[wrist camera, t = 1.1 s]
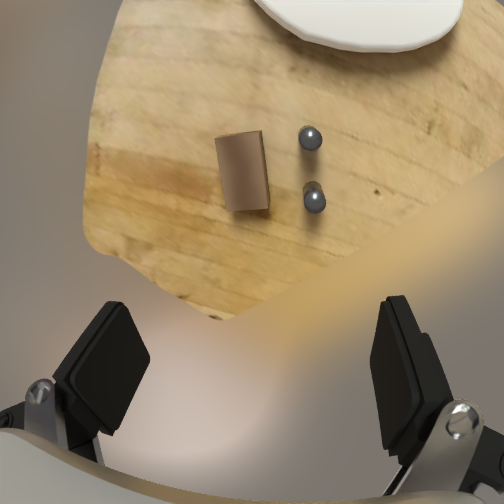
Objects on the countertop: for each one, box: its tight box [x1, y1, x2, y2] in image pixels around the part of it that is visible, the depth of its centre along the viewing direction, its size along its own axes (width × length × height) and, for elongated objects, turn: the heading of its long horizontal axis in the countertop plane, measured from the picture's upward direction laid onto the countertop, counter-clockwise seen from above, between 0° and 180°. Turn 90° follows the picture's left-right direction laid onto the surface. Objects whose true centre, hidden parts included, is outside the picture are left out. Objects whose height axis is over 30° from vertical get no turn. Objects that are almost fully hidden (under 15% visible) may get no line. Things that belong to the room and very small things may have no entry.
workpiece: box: [215, 130, 270, 212], centre depth 34 cm, size 5×9×4 cm, turn 8°
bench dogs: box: [298, 125, 326, 213], centre depth 32 cm, size 2×9×5 cm, turn 7°
